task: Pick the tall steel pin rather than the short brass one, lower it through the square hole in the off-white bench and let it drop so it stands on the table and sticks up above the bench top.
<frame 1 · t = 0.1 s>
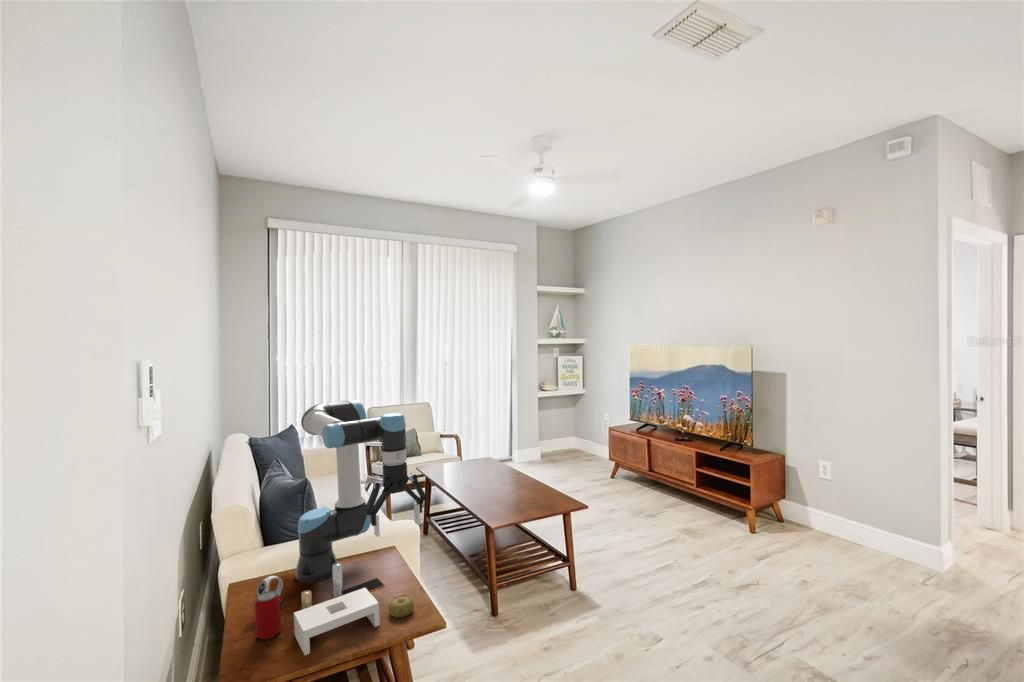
hand: (397, 529, 153), 28 cm above the table, tool pointing down, fingers open, 13 cm apart
short brass pin: (307, 613, 157), on the table
beverage can: (269, 634, 147), on the table
white bench: (337, 630, 147), on the table
smartphone: (358, 592, 170), on the table
sculpture: (401, 613, 155), on the table
watch: (271, 611, 160), on the table
tall steel pin: (338, 602, 163), on the table
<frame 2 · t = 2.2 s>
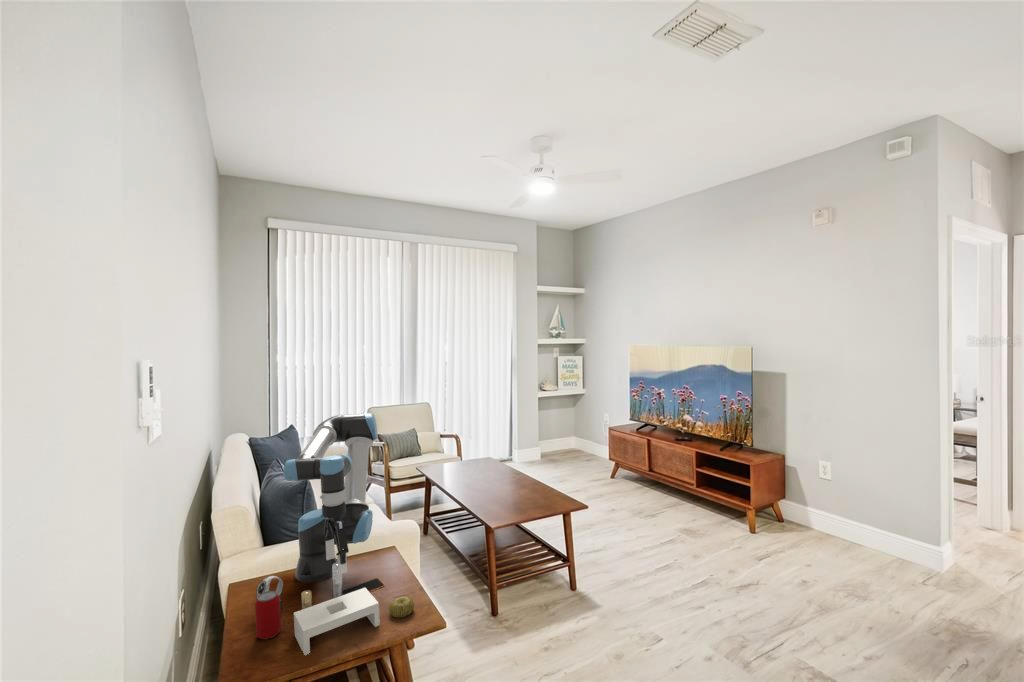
hand: (336, 565, 163), 13 cm above the table, tool pointing down, fingers open, 13 cm apart
nothing on the table moved.
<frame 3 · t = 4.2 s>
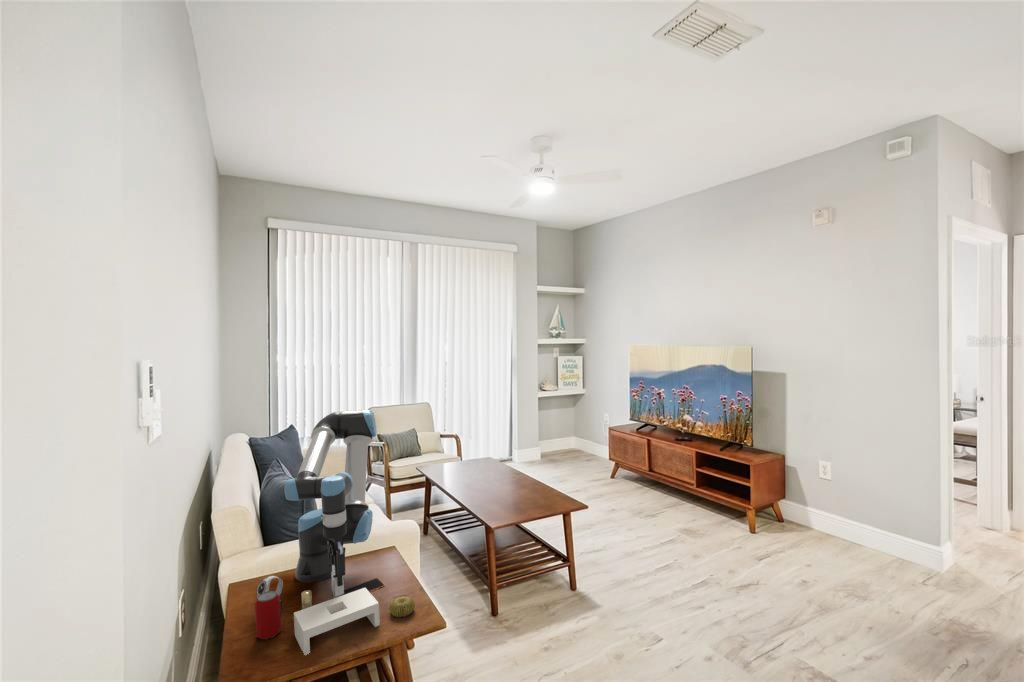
hand: (338, 592, 163), 4 cm above the table, tool pointing down, fingers closed on tall steel pin, 3 cm apart
tall steel pin: (338, 602, 163), on the table, touching gripper
everything else where it was.
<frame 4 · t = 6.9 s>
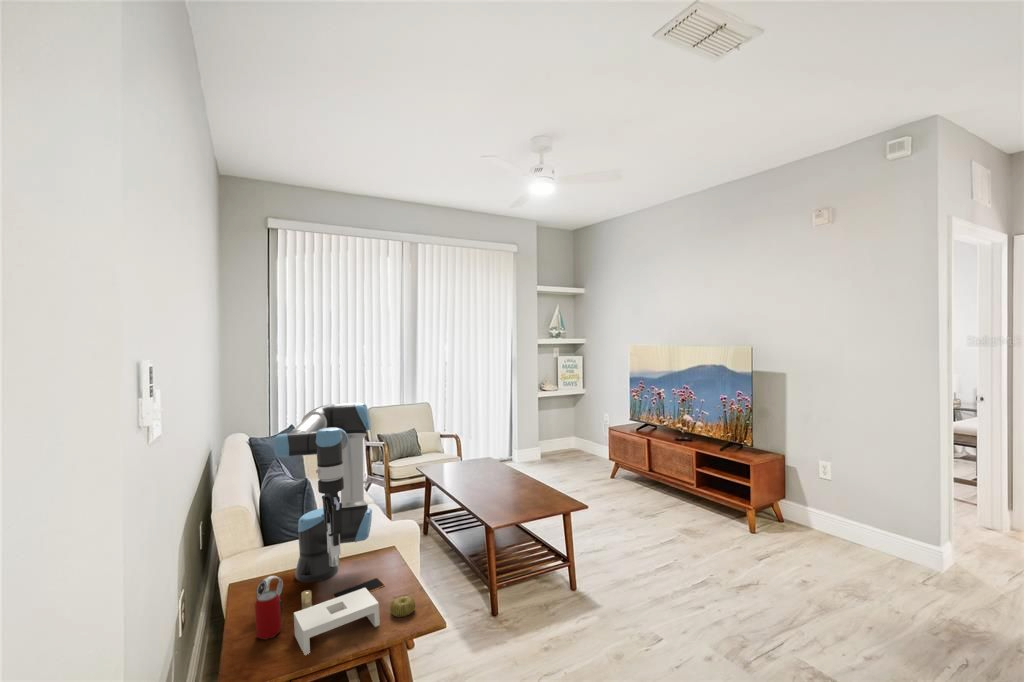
hand: (334, 553, 150), 22 cm above the table, tool pointing down, fingers closed on tall steel pin, 3 cm apart
tall steel pin: (334, 564, 150), point 19 cm above the table, touching gripper
everything else where it was.
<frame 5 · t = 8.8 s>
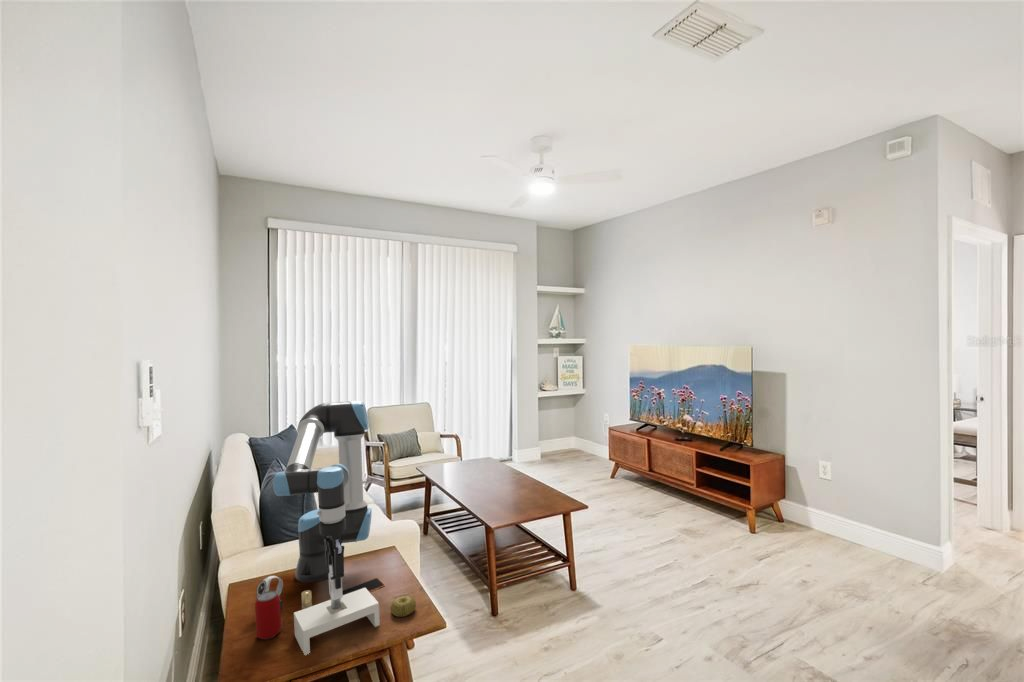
hand: (336, 595, 147), 11 cm above the table, tool pointing down, fingers closed on tall steel pin, 3 cm apart
tall steel pin: (336, 606, 147), point 7 cm above the table, touching gripper
everything else where it was.
when the fingers open (9 cm above the table, at t = 10.0 s): tall steel pin drops 5 cm, on the table.
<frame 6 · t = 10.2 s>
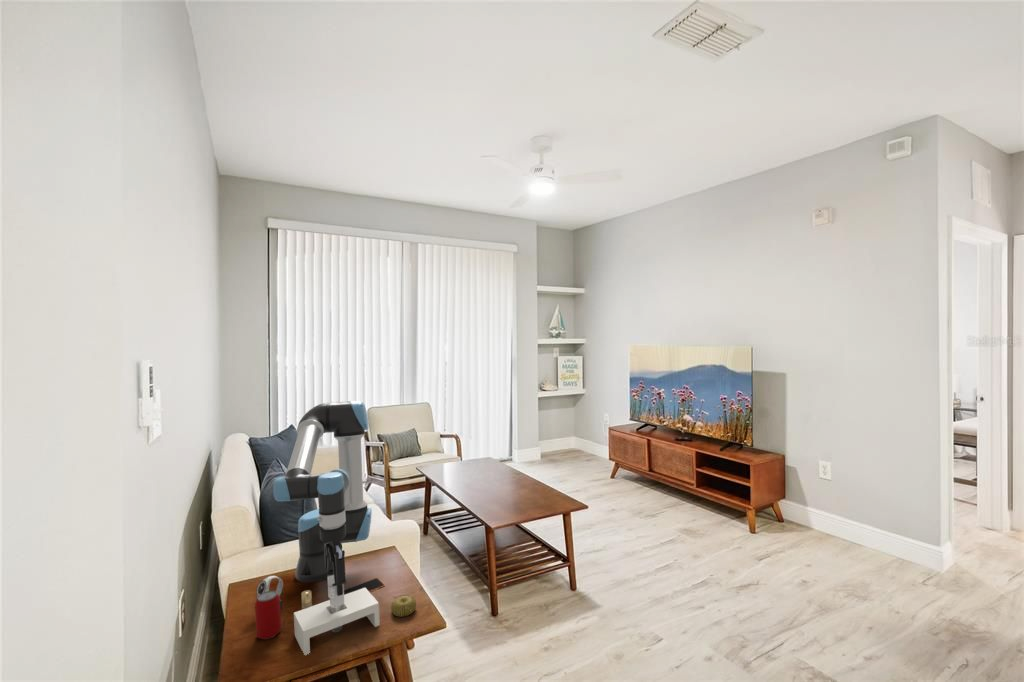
hand: (336, 600, 147), 9 cm above the table, tool pointing down, fingers open, 6 cm apart
tall steel pin: (337, 629, 148), on the table, touching gripper
everything else where it was.
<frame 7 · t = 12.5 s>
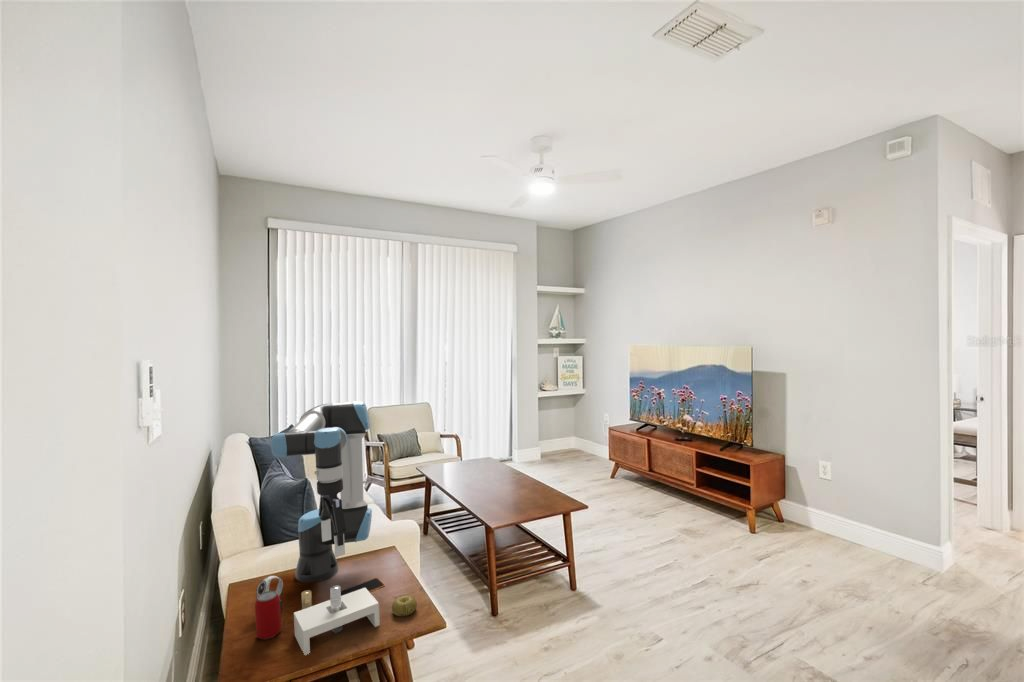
hand: (333, 547, 148), 25 cm above the table, tool pointing down, fingers open, 13 cm apart
tall steel pin: (337, 629, 148), on the table
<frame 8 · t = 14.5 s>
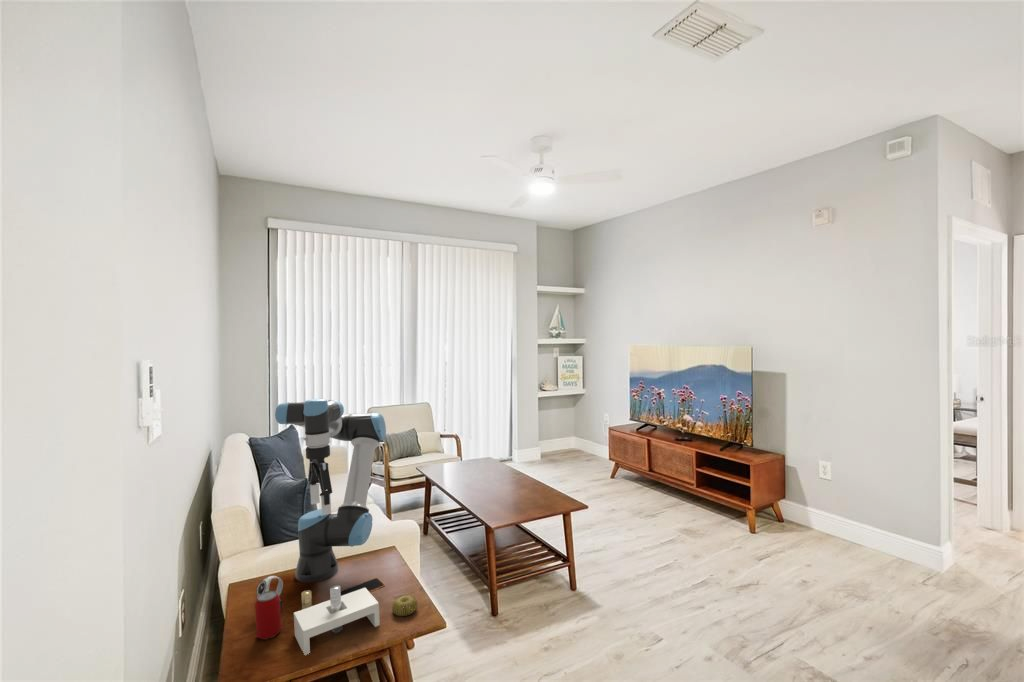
hand: (320, 508, 161), 33 cm above the table, tool pointing down, fingers open, 13 cm apart
at the end: tall steel pin 0.4 cm off-centre on the white bench, point 0.0 cm above the white bench's base; tall steel pin tilted 0°; short brass pin moved 0.0 cm from its start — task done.
